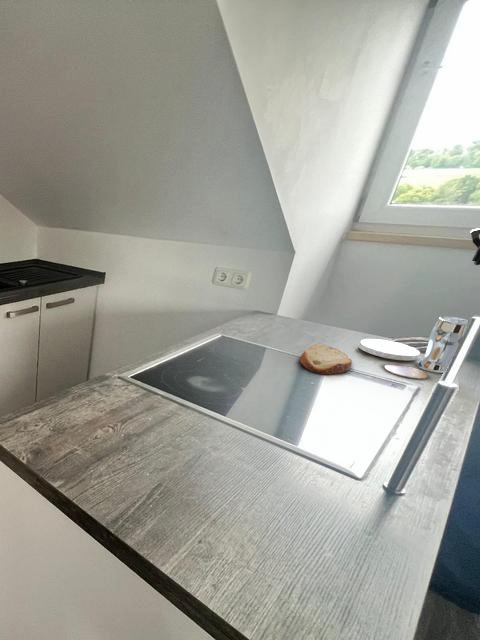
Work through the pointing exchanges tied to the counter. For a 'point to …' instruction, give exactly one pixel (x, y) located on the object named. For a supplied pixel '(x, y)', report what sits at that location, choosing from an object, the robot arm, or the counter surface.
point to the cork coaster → (405, 371)
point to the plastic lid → (389, 349)
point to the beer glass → (443, 344)
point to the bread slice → (325, 360)
